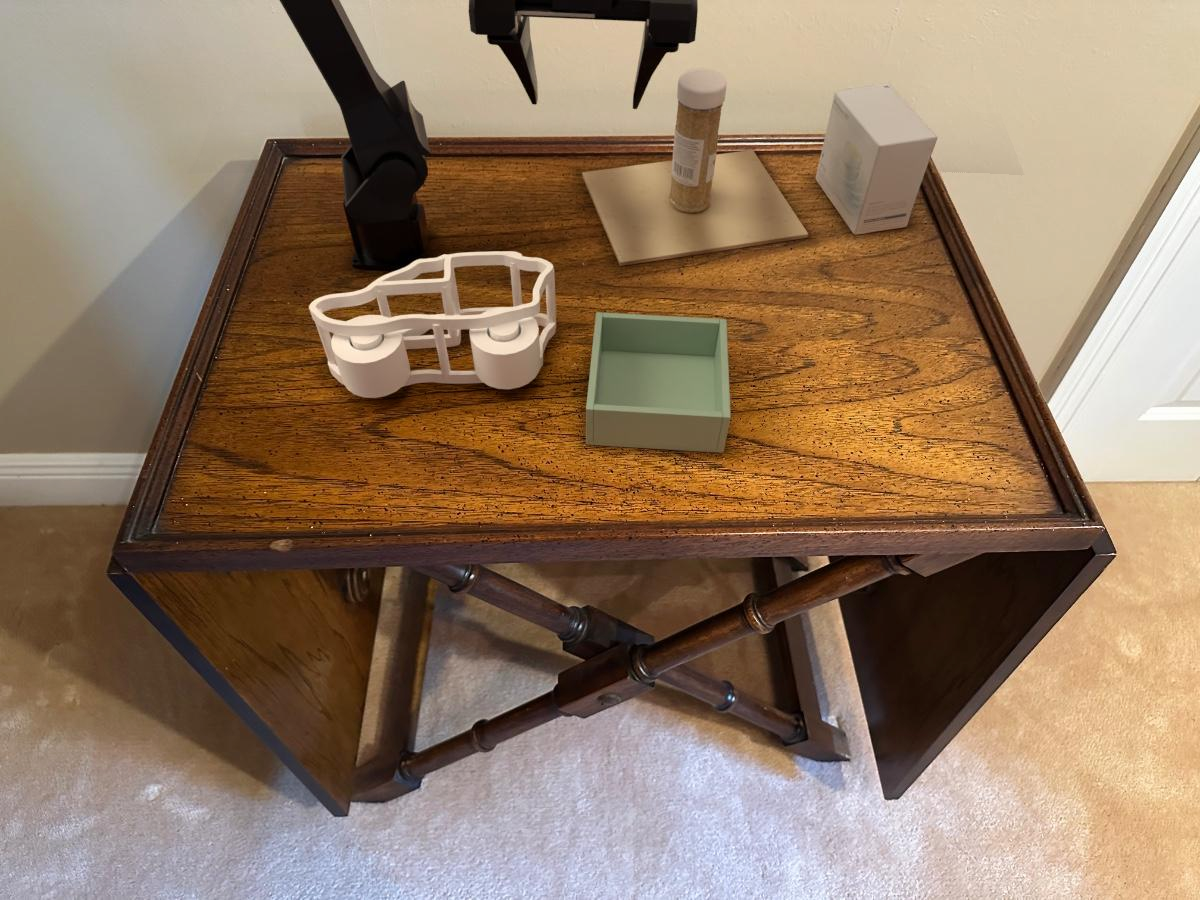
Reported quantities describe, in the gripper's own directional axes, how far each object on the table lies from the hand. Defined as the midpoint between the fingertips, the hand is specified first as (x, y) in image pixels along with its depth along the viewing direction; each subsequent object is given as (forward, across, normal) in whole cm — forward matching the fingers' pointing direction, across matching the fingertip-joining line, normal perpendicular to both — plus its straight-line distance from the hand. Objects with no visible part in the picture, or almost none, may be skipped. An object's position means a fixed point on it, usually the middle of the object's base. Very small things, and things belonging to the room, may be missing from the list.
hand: (584, 104), depth 76 cm
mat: (+13, -11, -4) cm, 17 cm away
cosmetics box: (+13, -29, -6) cm, 32 cm away
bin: (+13, -8, +24) cm, 28 cm away
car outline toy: (+13, +11, +21) cm, 27 cm away
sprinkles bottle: (+13, -11, -4) cm, 17 cm away
